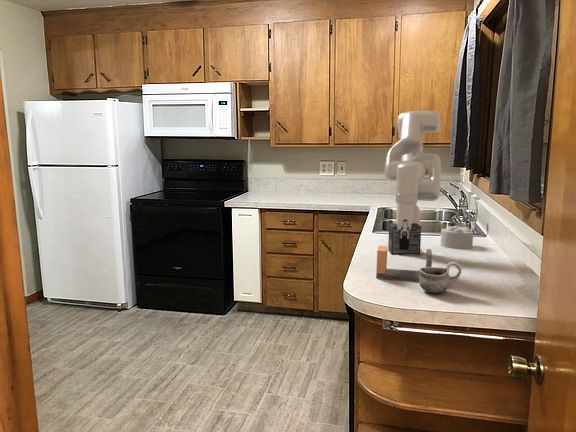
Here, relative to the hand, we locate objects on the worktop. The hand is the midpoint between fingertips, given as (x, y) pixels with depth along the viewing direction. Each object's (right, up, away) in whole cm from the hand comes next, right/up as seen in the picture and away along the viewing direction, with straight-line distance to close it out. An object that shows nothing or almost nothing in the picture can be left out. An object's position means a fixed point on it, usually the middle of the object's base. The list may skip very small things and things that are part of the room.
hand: (404, 246), depth 175 cm
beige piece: (+32, -3, +38) cm, 50 cm away
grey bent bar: (-2, -10, -9) cm, 14 cm away
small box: (0, -3, +1) cm, 3 cm away
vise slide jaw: (-10, -8, -7) cm, 15 cm away
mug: (+5, -13, -24) cm, 27 cm away
